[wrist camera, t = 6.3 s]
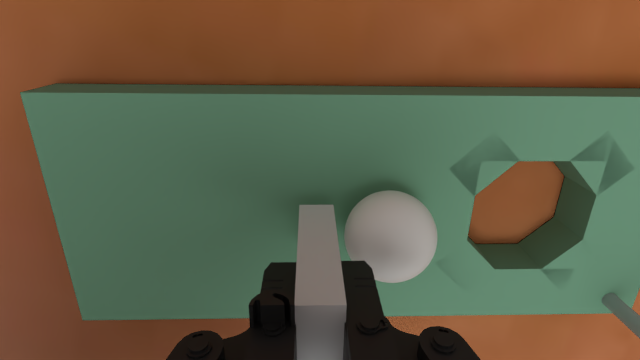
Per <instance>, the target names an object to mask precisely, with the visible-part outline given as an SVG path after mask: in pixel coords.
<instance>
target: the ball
mask: <svg viewBox="0 0 640 360" xmlns="http://www.w3.org/2000/svg"><path fill="white" fill-rule="evenodd" d="M344 241H345V246H346V250H347V252H348V255H349V257H350V259H351V261H365V262H366V263H367V264H368V265H369V266H370V267H371V268H372V270H373V274H374V279H375V280H377V281H381V282H386V283H398V282H403V281H407V280H409V279H412V278H414V277H415V276H417V275H419V274H420V273H421V272H422V271H423V270H424V269H425V268H426V267H427V266H428V265H429V263H430V262H431V260H432V258H433V256H434V254H435V251H436V247H437V229H436V224H435V222H434V219H433V217H432V215H431V213H430V212H429V210H428V209H427V208H426V207H425V206H424V204H422V203H421V202H420V201H419V200H418V199H416V198H415V197H413V196H411V195H409V194H407V193H404V192H400V191H394V190H387V191H380V192H375V193H373V194H370V195H368V196H367V197H365V198H364V199H362V200H361V201H360V202H359V203H358V204H357V205H356V206H355V207H354V208H353V209H352V211H351V213H350V214H349V216H348V219H347V221H346V225H345V231H344Z"/></svg>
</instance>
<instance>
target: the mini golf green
mask: <svg viewBox="0 0 640 360" xmlns="http://www.w3.org/2000/svg"><path fill="white" fill-rule="evenodd" d="M20 94H21V98H22V101H23V105H24V108H25V112H26V116H27V119H28V123H29V127H30V130H31V134H32V138H33V141H34V145H35V148H36V152H37V156H38V159H39V163H40V167H41V170H42V174H43V178H44V181H45V185H46V189H47V192H48V196H49V199H50V203H51V207H52V210H53V214H54V218H55V221H56V225H57V229H58V232H59V236H60V240H61V243H62V247H63V250H64V254H65V258H66V261H67V265H68V269H69V272H70V276H71V280H72V283H73V287H74V291H75V294H76V298H77V301H78V305H79V309H80V312H81V316H82V320H148V319H222V318H249V306H248V305H249V303H250V301H251V299H253V298H254V297H255V296H256V295H258V294H260V291H261V286H262V281H263V274H264V270H265V269H266V268H267V267H268V265H269V264H270V263H271V262H297V243H298V224H299V205H333V206H334V213H335V221H336V228H337V236H338V243H339V251H340V258H341V261H351V259H350V257H349V255H348V252H347V250H346V246H345V241H344V231H345V225H346V221H347V219H348V216H349V214H350V213H351V211H352V209H353V208H354V207H355V206H356V205H357V204H358V203H359V202H360V201H361V200H362V199H364V198H365V197H367V196H368V195H370V194H373V193H375V192H380V191H387V190H394V191H400V192H404V193H407V194H409V195H411V196H413V197H415V198H416V199H418V200H419V201H420V202H421V203H422V204H424V206H425V207H426V208H427V209H428V210H429V212H430V213H431V215H432V217H433V219H434V222H435V224H436V229H437V247H436V251H435V254H434V256H433V258H432V260H431V262H430V263H429V265H428V266H427V267H426V268H425V269H424V270H423V271H422V272H421V273H420V274H419V275H417V276H415V277H414V278H412V279H409V280H407V281H403V282H398V283H386V282H381V281H377V280H375V282H376V287H377V290H378V294H379V298H380V302H381V306H382V309H383V313H384V316H446V315H520V314H595V313H613V314H614V315H616V316H617V317H618V318H619V319H620V320H621V321H622V322H623V323H624V324H625V325H626V326H627V327H628V328H629V329H630V330H631V331H632V332H633V333H634V334H636V335H637V336H638V337H639V338H640V316H639V315H638V314H637V313H636V312H635V311H634V310H632V306H633V304H634V301H635V298H636V296H637V293H638V291H639V288H640V88H544V87H419V86H294V85H170V84H52V85H48V86H44V87H40V88H36V89H32V90H28V91H24V92H20ZM518 161H553V162H554V163H555V164H556V166H557V167H558V168H559V169H560V171H561V172H562V173H563V175H564V176H565V178H564V181H563V185H562V189H561V193H560V196H559V200H558V204H557V207H556V211H555V215H554V217H553V218H552V219H551V220H549V221H548V222H546V223H545V224H544V225H542V226H541V227H540V228H538V229H537V230H536V231H534V232H533V233H531V234H530V235H529V236H527V237H526V238H525V239H523V240H522V241H521V242H519V243H518V244H475V243H474V242H473V241H472V240H471V239H470V238H469V237H468V232H469V226H470V221H471V215H472V209H473V204H474V198H475V195H476V194H478V193H479V192H480V191H481V190H483V189H484V188H485V187H486V186H488V185H489V184H490V183H491V182H493V181H494V180H495V179H496V178H498V177H499V176H500V175H501V174H503V173H504V172H505V171H506V170H508V169H509V168H510V167H512V166H513V165H514V164H515V163H517V162H518Z"/></svg>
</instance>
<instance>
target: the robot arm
mask: <svg viewBox="0 0 640 360" xmlns="http://www.w3.org/2000/svg"><path fill="white" fill-rule="evenodd" d="M248 306H249V319H250V328H249V329H248V330H246V331H245V332H243V333H241V334H239V335H237V336H234V337H230V338H227V339H223V340H222V338H221V337H220V336H219V335H218V334H217V333H215V332H212V331H198V332H194V333H191V334H189V335H188V336H186V337H184V338H183V339H182V340H181V341H180V342H179V343H178V344H177V345H176V346H175V348H174V349H173V351H172V352H171V353H170V355H169V356H168V358H167V359H166V360H480V358H479V357H478V356H477V355H476V353H475V352H474V351H473V350H472V349H471V347H470V346H469V345H468V344H467V342H466V341H465V340H464V339H463V338H462V337H461V336H460V335H459V334H458V333H457V332H455V331H453V330H451V329H449V328H444V327H440V326H436V327H429V328H427V329H424V330H423V331H422V333H421V334H420V336H417V335H413V334H409V333H405V332H402V331H400V330H398V329H396V328H394V327H393V326H392V325H391V324H390V322H389V320H388V319H387V318H386V317H385V316H384V313H383V309H382V306H381V302H380V298H379V294H378V290H377V287H376V282H375V279H374V274H373V270H372V268H371V267H370V266H369V265H368V264H367V263H366V262H365V261H341V258H340V251H339V243H338V236H337V228H336V221H335V213H334V206H333V205H299V224H298V243H297V262H271V263H270V264H269V265H268V267H267V268H266V269H265V270H264V274H263V281H262V286H261V291H260V294H258V295H256V296H255V297H254V298H253V299H251V301H250V303H249V305H248Z"/></svg>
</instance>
